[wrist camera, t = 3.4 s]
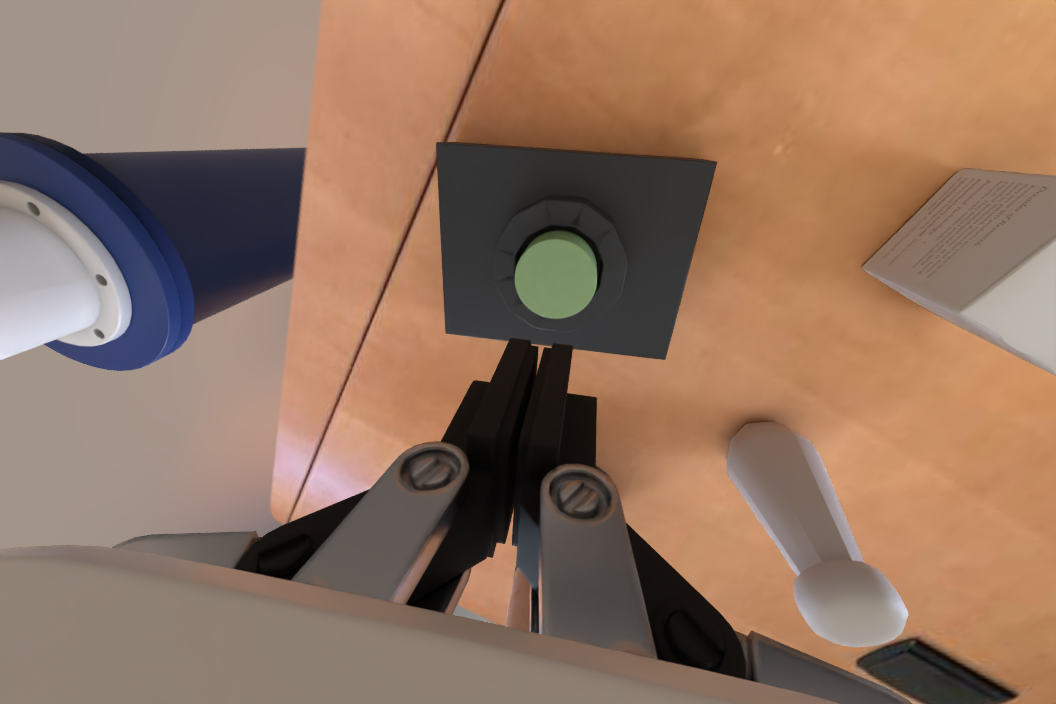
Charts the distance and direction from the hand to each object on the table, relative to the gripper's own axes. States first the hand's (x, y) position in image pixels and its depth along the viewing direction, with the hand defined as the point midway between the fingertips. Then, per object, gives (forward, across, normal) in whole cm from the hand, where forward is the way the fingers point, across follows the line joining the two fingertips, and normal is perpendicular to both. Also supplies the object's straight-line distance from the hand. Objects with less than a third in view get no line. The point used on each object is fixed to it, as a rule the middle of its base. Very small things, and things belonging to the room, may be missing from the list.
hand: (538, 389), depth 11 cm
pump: (+12, +1, 0) cm, 12 cm away
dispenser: (+16, +1, 0) cm, 16 cm away
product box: (+17, -20, -2) cm, 26 cm away
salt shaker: (+16, -15, +13) cm, 26 cm away
